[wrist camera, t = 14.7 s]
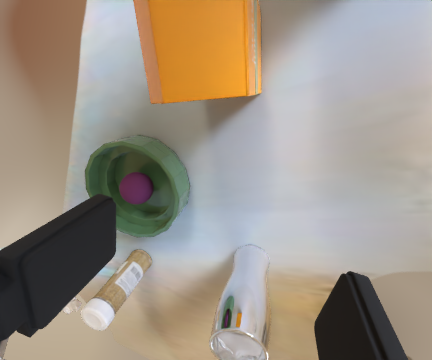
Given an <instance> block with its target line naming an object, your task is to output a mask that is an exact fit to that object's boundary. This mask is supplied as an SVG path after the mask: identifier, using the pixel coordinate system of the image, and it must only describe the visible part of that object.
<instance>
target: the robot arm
mask: <svg viewBox="0 0 432 360" xmlns="http://www.w3.org/2000/svg"><path fill="white" fill-rule="evenodd" d="M115 252H116V203H115V202H114V200H113V198H112V197H109V196H106V195H103V194H96V195H95V196H93V197H91V198H89V199H88V200H86V201H84V202H83V203H81V204H79V205H77V206H76V207H74V208H72V209H71V210H69V211H67V212H65V213H64V214H62V215H60V216H59V217H57V218H55V219H54V220H52V221H50V222H48V223H47V224H45V225H43V226H41V227H40V228H38V229H36V230H35V231H33V232H31V233H30V234H28V235H26V236H24V237H23V238H21V239H19V240H17V241H16V242H14V243H12V244H11V245H9V246H7V247H5V248H4V249H2V250H0V360H5V359H3V355H4V352H5V349H6V345H7V342H8V338H9V336H10V335H11V334H12V333H14V332H15V331H16V330H17V332H18V333H21V334H23V335H25V336H28V337H31V336H32V335H33V334H34V333H35V332H36V331H37V330H38V329H43V328H44V327H46V326H47V325H48V324H49V323H50V322H51V321H52V319H54V318H55V317H56V316H57V314H58V313H59V312H60V311H61V310H62V309H63V308H64V307H65V306H66V305H67V304H68V303H69V302H70V301H71V300H72V299H73V298H74V297H75V296H76V295H77V294H78V293H79V292H80V291H81V290H82V289H83V288H84V287H85V286H86V285H87V284H88V283H89V282H90V281H91V280H92V279H93V278H94V277H95V276H96V275H97V273H98V272H99V271H100V270H101V269H102V268H103V267H104V266H105V265H106V264H107V263H108V262H109V261H110V260H111V259H112V258H113V257H114V255H115ZM314 330H315V337H316V344H317V350H318V357H319V360H408V358H407V356H406V354H405V353H404V350H403V348H402V346H401V344H400V342H399V340H398V338H397V336H396V333H395V331H394V330H393V327H392V325H391V323H390V321H389V319H388V317H387V315H386V313H385V311H384V309H383V306H382V304H381V303H380V300H379V298H378V296H377V294H376V292H375V290H374V288H373V286H372V284H371V282H370V280H369V278H368V277H367V276H364V275H361V274H357V273H354V272H351V271H349V272H347V273H346V274H341V276H340V277H339V279H338V281H337V283H336V285H335V286H334V288H333V290H332V292H331V294H330V295H329V297H328V299H327V301H326V303H325V304H324V306H323V308H322V310H321V312H320V313H319V315H318V317H317V319H316V321H315V326H314Z"/></svg>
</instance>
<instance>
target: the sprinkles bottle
mask: <svg viewBox="0 0 432 360" xmlns="http://www.w3.org/2000/svg"><path fill="white" fill-rule="evenodd" d="M151 264H152V260H151V257H150V256H149V255H148V254H147V253H146V252H145V251H143V250H135V251H133V252H132V253H131V255H130V256H129V257H128V258H127V260H126V261H125V262H124V263H123V264H122V265H121V266H120V267H119V268H118V269H117V271H116V272H115V273H114V274H113V275H112V277H111V278H110V279H109V280H108V282H107V283H106V284H105V285H104V286H103V287H102V288H101V290H100V291H99V292H98V293H97V294H96V295H95V297H93V298H92V299H91V300H89V301H88V303H87V304H86V305H85V306H84V307H83V309H82V310H81V313H80V315H81V318H82V320H83V321H84V323H85V324H86V325H88V326H89V327H91V328H92V329H95V330H99V331H101V330H105V329H106V328H107V327H108V326H109V324H110V323H111V322H112V320H113V319H114V316H115V314H116V312H117V311H118V310H119V308H120V307H121V306H122V304H123V303H124V302H125V301H126V299H127V298H128V296H129V295H130V294H131V292H132V291H133V289H134V288H135V287H136V285H137V284H138V282H139V281H140V280H141V278H142V276H143V275H144V273H145V272H146V270H147V269H148V268H149V267H150V266H151Z"/></svg>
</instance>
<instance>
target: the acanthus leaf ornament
mask: <svg viewBox="0 0 432 360" xmlns="http://www.w3.org/2000/svg"><path fill="white" fill-rule="evenodd" d="M80 306H81V302H80V301H79V300H78V299H76V297H74V298H73V299H72V300H71V301H70V302H69V303H68V304H67V305H66V306H65V307H64V308H63V309H62V310H63V312H64V313H67V314H69V313H70V312H71V311H78V310H79V308H80Z"/></svg>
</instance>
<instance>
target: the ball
mask: <svg viewBox="0 0 432 360" xmlns="http://www.w3.org/2000/svg"><path fill="white" fill-rule="evenodd" d="M119 190H120V194H121V196H122V198H123V199H124V200H125V201H126V202H128V203H130V204H142V203H144V202H146V201H148V200H149V199H150V197H151V196H152V194H153V190H154V186H153V182H152V180H151V179H150V177H149V176H147V175H146V174H144V173H141V172H133V173H130V174H128V175H126V176H125V177H124V178H123V179H122V181H121V183H120V186H119Z"/></svg>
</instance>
